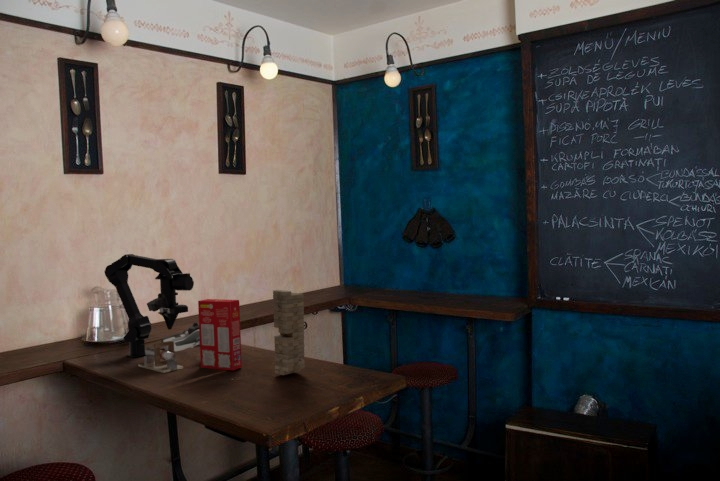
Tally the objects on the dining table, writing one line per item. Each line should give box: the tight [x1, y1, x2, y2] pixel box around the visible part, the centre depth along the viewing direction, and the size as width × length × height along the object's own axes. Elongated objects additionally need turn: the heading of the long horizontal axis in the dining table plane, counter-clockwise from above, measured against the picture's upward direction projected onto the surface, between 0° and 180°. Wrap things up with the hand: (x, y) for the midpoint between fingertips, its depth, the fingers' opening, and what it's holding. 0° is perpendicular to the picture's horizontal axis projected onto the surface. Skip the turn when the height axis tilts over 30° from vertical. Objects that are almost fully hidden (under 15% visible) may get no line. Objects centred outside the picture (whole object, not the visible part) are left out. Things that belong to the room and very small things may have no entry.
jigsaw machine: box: [160, 321, 200, 353], centre depth 252 cm, size 20×11×12 cm, turn 135°
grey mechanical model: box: [137, 347, 184, 374], centre depth 221 cm, size 18×8×7 cm, turn 50°
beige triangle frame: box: [153, 341, 175, 367], centre depth 219 cm, size 2×7×8 cm, turn 140°
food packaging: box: [197, 298, 243, 371], centre depth 218 cm, size 15×5×25 cm, turn 65°
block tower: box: [272, 289, 306, 376], centre depth 207 cm, size 8×8×29 cm
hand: (169, 329), depth 235 cm, fingers closed
